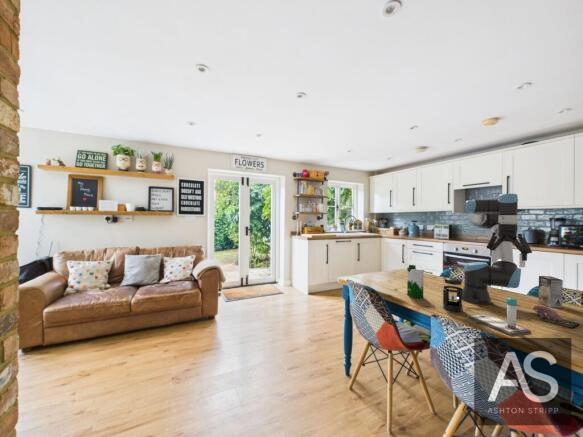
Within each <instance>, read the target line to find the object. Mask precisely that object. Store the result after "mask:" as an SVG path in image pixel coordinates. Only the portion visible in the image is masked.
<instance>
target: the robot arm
mask: <svg viewBox="0 0 583 437" xmlns="http://www.w3.org/2000/svg"><path fill="white" fill-rule="evenodd" d="M518 203H519V198H518V194H517V193H501V194H499V195H498V199H496V198H495V199H469V200H466V201H465V213H468V214H469V216H468V221H469V223H470V224H471V225H473V226H475V227H477V228H480V229H482V230H483V229H484V230H486V229H487V230H491V232H492V235H491V238H490V239H489V241H488V244H487V245H486V249H489V252H490V253H489V255H490V256H491V257H490V258H491V265H489V264H488V263H487V262H485V261H484V262H482V261H481V262H480V261H475V262H473V261H472V262H467V263H464V270H463V273H464V274H463V275H464V276H463V277H464V278H463V279H464V280H463V283H464V284H463V285H464V286H463V288H462V289H463V292H462V301H465V302H469V303H472V304H478V305H489V304H491V303H492V298H491V295H490V292H489V290H488V289H489V288H488V286H493V287H494V286H495V287H501V288H507V289H518V288H519V286H520V282H521V275H522V268H526V262H527V261H528V254H532V253H533V250H532V249H531V247H530V245H529V243H528V241H527V239H526V236H525V233H518V228H519V227H518V218H519V216H518V210H519V208H518ZM517 238H518V239H517ZM513 245H514V246H515V247H516V249H517V250H518V251H519V252H520V253H519V257H518V258H519V259H518V260H519V261H518V262H519V263H518V264H519V265H517V264H516V263H515V262H514V252H513ZM518 266H519V267H518Z"/></svg>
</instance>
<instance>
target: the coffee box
mask: <svg viewBox="0 0 583 437" xmlns="http://www.w3.org/2000/svg"><path fill="white" fill-rule="evenodd" d="M563 282H564V281H563V279H561V278H558V277H555V276H550V275H548V276H547V275H538V302H539V303H540V304H542V305H544V306H546V307H547V306H548V308H549V307H550V308H561V307H562V308H563V285H564V284H563Z"/></svg>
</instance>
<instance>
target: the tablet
mask: <svg viewBox="0 0 583 437" xmlns="http://www.w3.org/2000/svg"><path fill="white" fill-rule="evenodd" d="M466 318H468V319H470V320H472V321H475V322H477V323H479V324H481V325H484V326H486V327H489V328H491V329H493V330H496V331H498V332H501V333H502V334H505V335H508V336H516V335H517V336H518V335H524V334H525V335H526V334H531V333H532V330H530V329H528V328H525V327H522V326H520V325H517V324H516V329H510V328H508V327H507V320H504V319H501V318H499V317H495V316H493V315H491V314H487V313H481V314H479V313H478V314H471V315H467V316H466Z"/></svg>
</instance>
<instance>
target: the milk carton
mask: <svg viewBox="0 0 583 437" xmlns="http://www.w3.org/2000/svg"><path fill="white" fill-rule="evenodd" d="M406 272H407V279H406V280H407V282H406V284H407V295H408V296H409V297H411V298H414V299H419V298H420V299H424V277H425V276H424V275H425V274H424V273H425V269H423V268H421V267H416V264H409V265H408V267H406Z"/></svg>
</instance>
